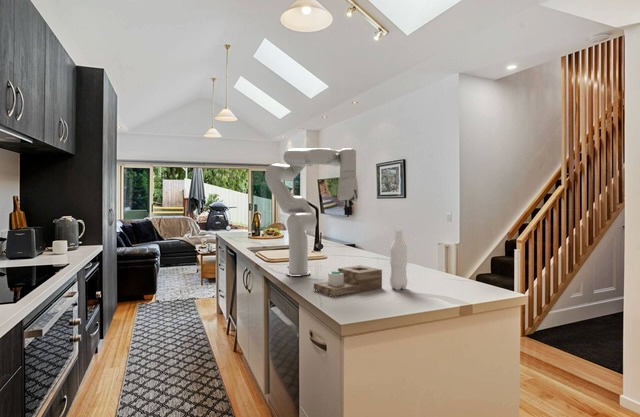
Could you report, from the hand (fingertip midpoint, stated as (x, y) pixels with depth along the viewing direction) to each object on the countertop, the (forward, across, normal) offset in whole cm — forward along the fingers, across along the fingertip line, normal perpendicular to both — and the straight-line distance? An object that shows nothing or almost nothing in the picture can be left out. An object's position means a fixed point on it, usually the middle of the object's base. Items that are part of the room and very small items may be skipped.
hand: (348, 215), depth 180 cm
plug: (+31, +12, -16) cm, 37 cm away
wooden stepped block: (+31, +12, -10) cm, 35 cm away
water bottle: (+31, +24, +8) cm, 40 cm away
